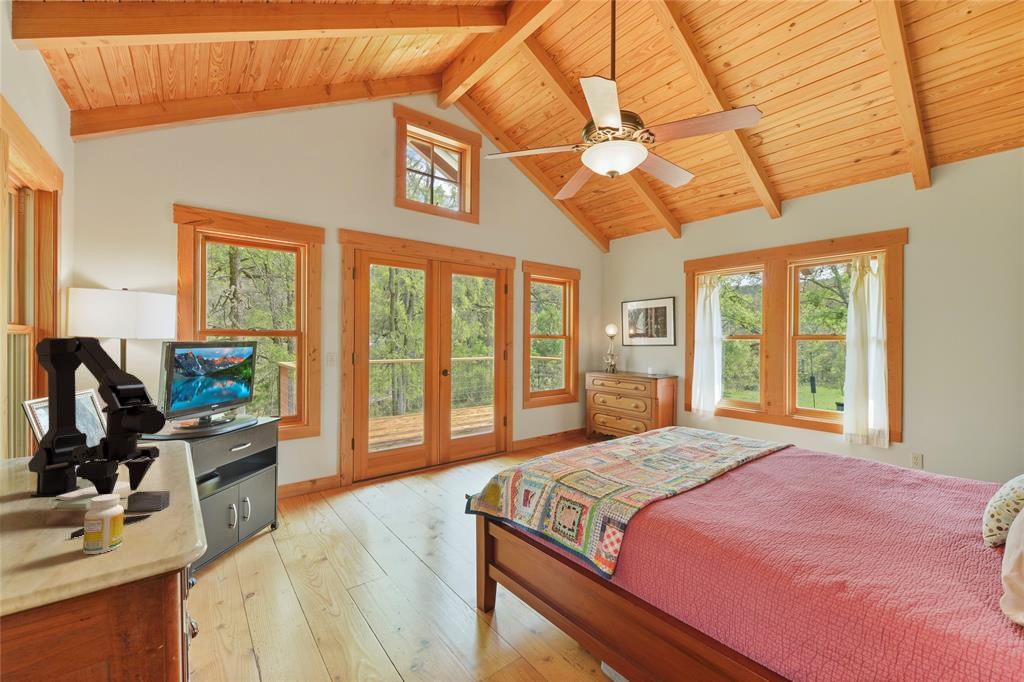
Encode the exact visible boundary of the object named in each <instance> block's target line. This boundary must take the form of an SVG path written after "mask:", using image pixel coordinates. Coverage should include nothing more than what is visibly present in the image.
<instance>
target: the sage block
mask: <svg viewBox="0 0 1024 682" xmlns="http://www.w3.org/2000/svg"><path fill="white" fill-rule="evenodd" d="M101 495H106V494H83V495H80V496H77V497H74V498H71V499H69V500H66V501H65V500H62V501H60V502H58V503H56V507H57V509H81V508H91V506H90V505H91V499H92V498H94V497H97V496H101Z"/></svg>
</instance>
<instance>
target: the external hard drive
mask: <svg viewBox="0 0 1024 682" xmlns="http://www.w3.org/2000/svg"><path fill="white" fill-rule="evenodd" d="M127 488H130V481H119V480H118V481H116V484H115V487H114V490H113V492H116V493H118V492H117V491H119V492H121V491H120V490H123V491H125V490H124V489H126V490H128V489H127ZM83 494H98V492H97V490H96V488H95V486H94V485H93V486H92V485H91V486H89V487H85V488H81V489H76V490H73V491H70V492H68V493H65V494H62V495H59V496H55V500H56V499H60V500H59V501H65V500H69V499H71V498H74V497H77V496H80V495H83Z"/></svg>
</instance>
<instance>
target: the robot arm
mask: <svg viewBox="0 0 1024 682" xmlns="http://www.w3.org/2000/svg"><path fill="white" fill-rule="evenodd" d="M35 353H36V354H37V361H38V362H37V363H39V365H40V366H41V367H42V368H43V369H44V370H45V371H46V373H47V390H48V391H47V397H48V399H47V401H48V404H47V405H48V409H47V410H48V411H47V412H48V430H47V432H45V434H44V435H43V437H42V438H41V439H40V440H39V444H38V450H37V452H35V454H34V455H33V457H32V458H31V459H30V461H29V462H28V463H27V464H28V465H27V466H28V470H29V472H30V473H36V474H37V475H36V479H37V480H36V492H34V493H31V494H30V497H56V496H59V495H63V494H67V493H70V492H74V491H77V490H80V488H81V486H80V485H77V483H78V481H77V478H81V479H82V480H88V481H89V482H91V483H92V484H93V486H95V488H96V490H97V492H98V494H114V493H113V490H114V487H115V484H116V481H117V480H118V477H119V475H120V473H119V472H117V471H118V469H119V466H122V465H124V466H125V468H127V469H128V478H129V479H128V480H129V481H128V482H130V489H129V490H130V491H133V492H134V491H135V492H136V490H137V489H138V487H140V484H141V482H142V481H143V479H144V478H145V475H146V474H147V472H148V471H149V470H150V468H151V466H152V465H153V464H154V463H155V462H156V459H157V458H159V457H160V449H159V448H158V447H157V445H156V446H143V445H142V446H138V440H140V439H142V438H143V435H155V434H158V433H159V432H161V431H162V430H163V428H164V427H165V426H166V421H167V420H166V419H167V418H166V417H165V414H164V413H163V412H162V411H160V410H158V405H157V404H154V401H153V398H152V397H151V395H150V394H149V392H148V390H147V388H146V386H145V384H144V382H143V381H142V380H140V379H139V378H138V377H137V376H135V375H134V374H132V373H128V372H126V371H124V370H122V369H121V368H120V366H119V365H118V363H116V362H115V361H114V360H113V358H111V356H110V355H109V354H108V353H107V351H106V350H105V349H104V348H103V347H102V345H101V342H100V340H99V339H98V338H95V337H92V336H73V337H45V338H43V339H42V340H40V341H38V343H36V346H35ZM82 364H83V365H84V366H85V368H86V369H87V370H88V371H89V373H91V374H92V376H93V377H94V378H95V380H96V381H97V383H99V384H98V387H97V392H98V395H99V396H100V398H101V399H102V401H103V402H104V403H105V404H106V406H105V407H103V408H102V409H101V413H103V414H106V426H105V427H106V430H105V431H106V433H105V436H104V437H100V439H99V443H98V444H96V445H93V446H90V447H89V446H88V443H87V442H88V441H87V439H88V435H87V434H86V432H82V431H80V430H79V429H78V428H77V410H76V409H77V406H76V404H77V403H76V401H77V400H76V371H77V370H78V369H79V367H80V366H81V365H82Z"/></svg>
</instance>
